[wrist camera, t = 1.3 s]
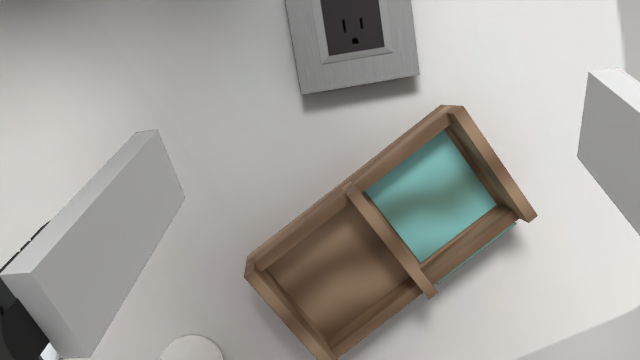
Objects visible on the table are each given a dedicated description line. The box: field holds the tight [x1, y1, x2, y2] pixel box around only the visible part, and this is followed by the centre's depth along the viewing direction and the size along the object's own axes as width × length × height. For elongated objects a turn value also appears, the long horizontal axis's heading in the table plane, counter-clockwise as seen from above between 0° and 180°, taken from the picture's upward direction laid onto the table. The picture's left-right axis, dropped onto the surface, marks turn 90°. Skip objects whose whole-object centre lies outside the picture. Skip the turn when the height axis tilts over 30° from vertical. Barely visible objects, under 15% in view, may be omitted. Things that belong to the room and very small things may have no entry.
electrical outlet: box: [285, 0, 420, 95], centre depth 39 cm, size 13×10×2 cm
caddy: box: [244, 105, 538, 360], centre depth 41 cm, size 12×23×5 cm, turn 128°
